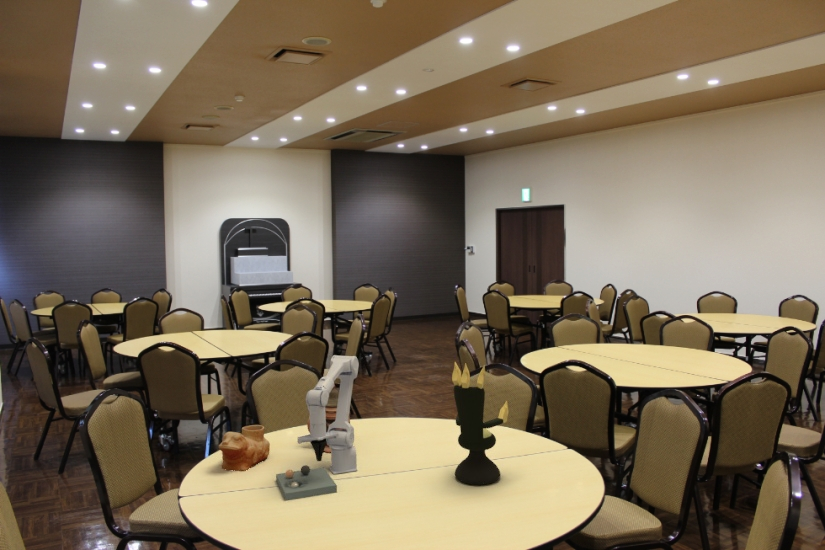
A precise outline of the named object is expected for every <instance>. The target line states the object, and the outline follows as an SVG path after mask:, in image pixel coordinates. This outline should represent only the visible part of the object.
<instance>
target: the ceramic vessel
mask: <svg viewBox="0 0 825 550" xmlns="http://www.w3.org/2000/svg"><path fill="white" fill-rule="evenodd" d="M270 446H271V444H270V441H269V440H268V439H266V438H265V426H263V425H260V424H252V425H245V426H243V427H242V428H241V433H240V432H235V431H227V432H225V433H224V435H223V437H222V442H220V444H218V449H219V450H220V451H221V454H222V462H221V469H222V470H225V469H226V471H230V470H233V472H246V470H247V471H249V470H250V469H251V468H253V467H255V466H257V465H259V464H261V463H263V462H265V461H267V460H268V457H269V455H270V452H271V451H270V450H271V448H270ZM266 459H267V460H266ZM262 461H263V462H262ZM260 462H261V463H260ZM258 463H259V464H258ZM256 464H257V465H256ZM249 468H250V469H249ZM248 469H249V470H248ZM234 470H235V471H234Z"/></svg>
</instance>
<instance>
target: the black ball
mask: <svg viewBox="0 0 825 550" xmlns="http://www.w3.org/2000/svg"><path fill="white" fill-rule="evenodd" d="M310 469H311V468H310V466H309V465H308V464H307V465H306V464H305V465H302V466H301V468H300V471H301V473H302V474H303V475H307V474H308V473H309V472H310Z"/></svg>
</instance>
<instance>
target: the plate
mask: <svg viewBox="0 0 825 550" xmlns="http://www.w3.org/2000/svg"><path fill="white" fill-rule="evenodd" d="M293 472H294V475H293V477H292V478H287V477H286V475H285V474H286V472H280V473H276V474H275V477H276V478H275V481H276V483H277V485H278V488H279V490H280V492H281V494H282V496H283V497H284V500H285V501H292V500H298V499H305V498H310V497H316V496H321V495H328V494H333V493H337V492H338V489H337V488H338V485H337V483H336V482H335V481H334V479H333V478H332V477H331V475H330V474H329V473H328V471H327V470H326V468H325V467H324V466H322V467H321V466H320V467H316V468H315V467H314V468H310V472H309V473H308V474H307V475H303V474H302V473H301V470H296V471H294V470H293ZM293 482H297V483H298V484H299V486H297V487H292V486H290V485H291V484H292V483H293Z"/></svg>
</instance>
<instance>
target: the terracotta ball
mask: <svg viewBox="0 0 825 550" xmlns="http://www.w3.org/2000/svg"><path fill="white" fill-rule="evenodd" d="M285 473H286V474H285V475H286V477H287V478H292V477H293V475H294V470H292V469H288V470H286V471H285Z"/></svg>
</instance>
